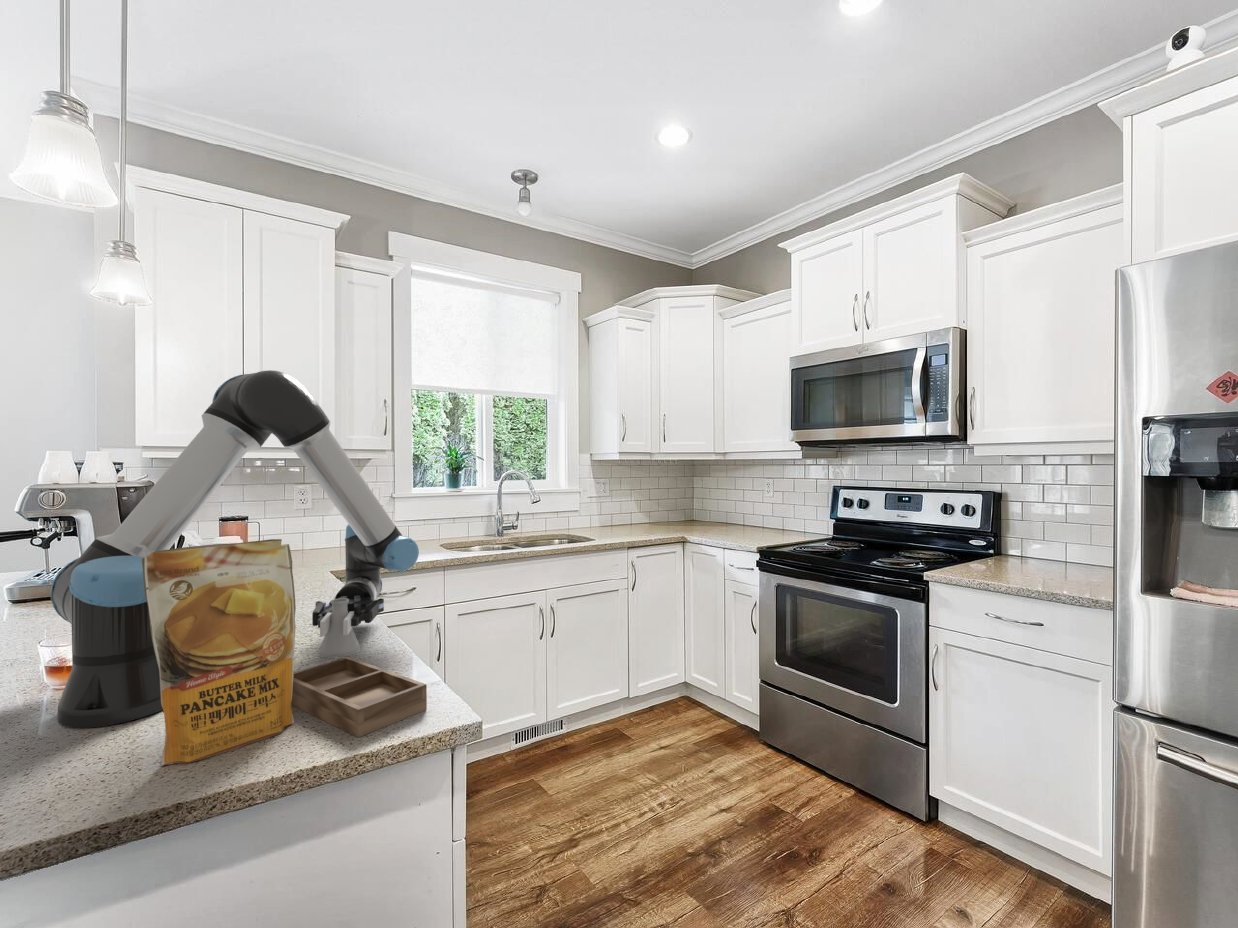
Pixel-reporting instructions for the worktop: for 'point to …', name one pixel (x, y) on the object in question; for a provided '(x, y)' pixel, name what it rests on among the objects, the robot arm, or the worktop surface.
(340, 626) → the flask
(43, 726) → the worktop surface
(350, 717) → the wooden tray
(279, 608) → the pancake mix bag
